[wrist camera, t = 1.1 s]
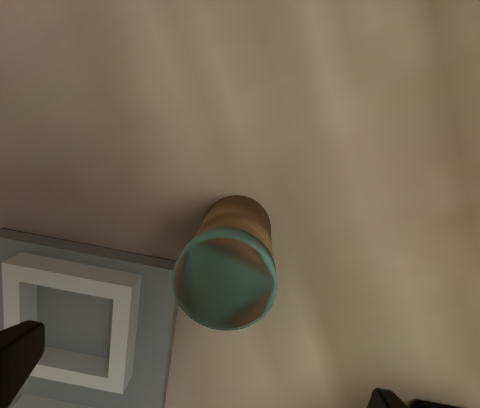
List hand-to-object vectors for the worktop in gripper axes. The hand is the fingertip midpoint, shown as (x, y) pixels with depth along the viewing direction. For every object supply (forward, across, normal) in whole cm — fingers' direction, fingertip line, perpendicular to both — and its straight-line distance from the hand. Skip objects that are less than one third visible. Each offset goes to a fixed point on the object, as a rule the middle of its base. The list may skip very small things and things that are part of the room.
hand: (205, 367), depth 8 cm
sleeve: (+11, 0, 0) cm, 11 cm away
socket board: (+11, +9, +13) cm, 19 cm away
